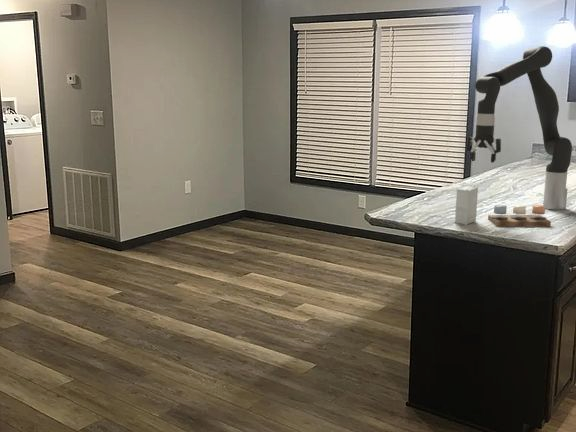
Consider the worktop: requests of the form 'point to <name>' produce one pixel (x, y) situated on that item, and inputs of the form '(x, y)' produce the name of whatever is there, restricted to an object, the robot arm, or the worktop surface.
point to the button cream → (519, 209)
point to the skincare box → (466, 205)
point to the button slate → (500, 209)
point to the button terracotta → (538, 209)
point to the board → (519, 220)
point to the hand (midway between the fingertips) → (482, 161)
